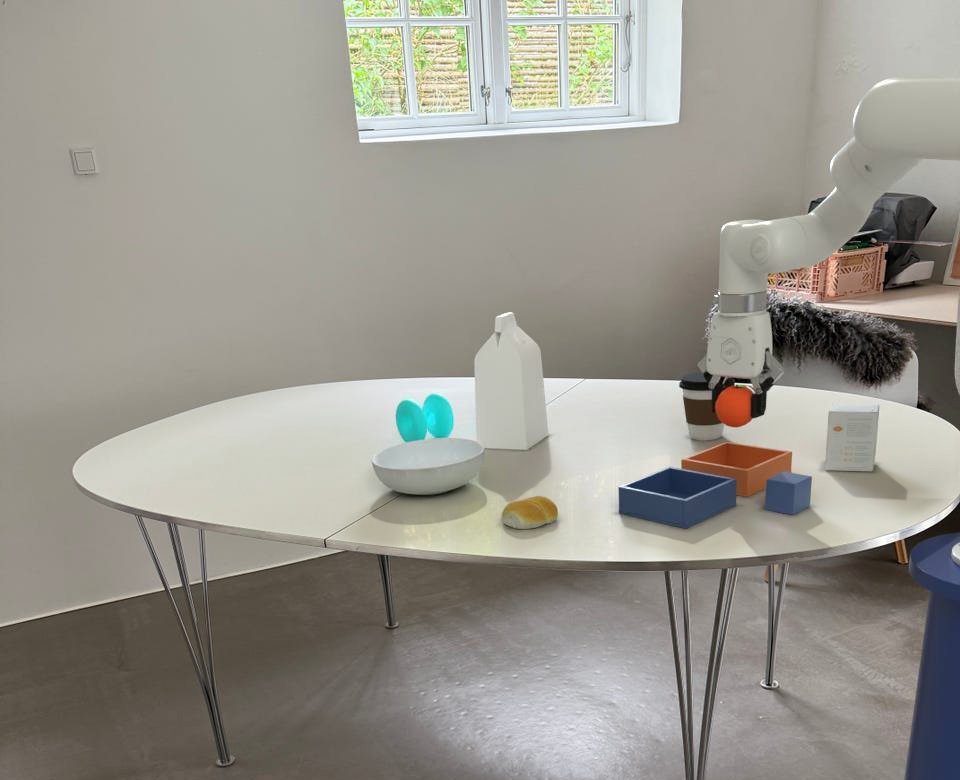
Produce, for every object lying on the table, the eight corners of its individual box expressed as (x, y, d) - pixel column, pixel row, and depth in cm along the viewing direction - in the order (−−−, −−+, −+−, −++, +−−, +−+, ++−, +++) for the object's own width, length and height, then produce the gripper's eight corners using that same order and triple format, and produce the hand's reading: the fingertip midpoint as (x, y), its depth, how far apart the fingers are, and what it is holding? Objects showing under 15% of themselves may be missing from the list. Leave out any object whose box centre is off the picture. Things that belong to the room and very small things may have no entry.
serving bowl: (412, 469, 190) (408, 435, 187) (506, 475, 180) (503, 439, 177) (354, 501, 174) (348, 464, 171) (453, 510, 164) (449, 471, 161)
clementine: (740, 418, 166) (741, 377, 163) (770, 424, 161) (772, 382, 157) (706, 427, 163) (707, 385, 159) (735, 434, 157) (737, 390, 154)
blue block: (810, 506, 151) (812, 476, 148) (792, 515, 148) (794, 484, 146) (782, 501, 154) (783, 471, 152) (764, 509, 151) (766, 479, 149)
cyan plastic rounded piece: (458, 440, 208) (454, 394, 203) (419, 450, 203) (414, 403, 198) (434, 433, 215) (429, 389, 211) (396, 443, 210) (390, 397, 206)
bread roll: (567, 518, 155) (566, 495, 153) (527, 533, 150) (526, 509, 148) (532, 509, 161) (531, 486, 159) (493, 523, 156) (491, 500, 154)
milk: (500, 433, 210) (491, 310, 199) (548, 435, 206) (542, 309, 194) (476, 447, 201) (466, 319, 189) (526, 449, 196) (518, 318, 185)
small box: (875, 463, 168) (881, 403, 164) (872, 472, 164) (878, 411, 159) (827, 461, 171) (831, 403, 167) (823, 470, 167) (828, 410, 162)
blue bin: (736, 505, 154) (737, 478, 152) (685, 528, 146) (686, 500, 144) (669, 492, 163) (669, 466, 161) (618, 513, 156) (618, 486, 154)
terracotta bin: (790, 476, 165) (792, 451, 163) (746, 497, 157) (748, 470, 155) (725, 465, 174) (726, 441, 172) (681, 484, 167) (681, 459, 165)
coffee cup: (713, 427, 200) (715, 369, 195) (744, 437, 191) (746, 376, 185) (668, 435, 197) (668, 376, 192) (697, 446, 188) (698, 385, 182)
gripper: (683, 305, 157) (682, 412, 165) (777, 309, 145) (770, 424, 153) (710, 298, 161) (708, 404, 169) (803, 302, 149) (796, 415, 157)
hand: (738, 413), depth 161 cm, fingers closed on clementine, 7 cm apart
